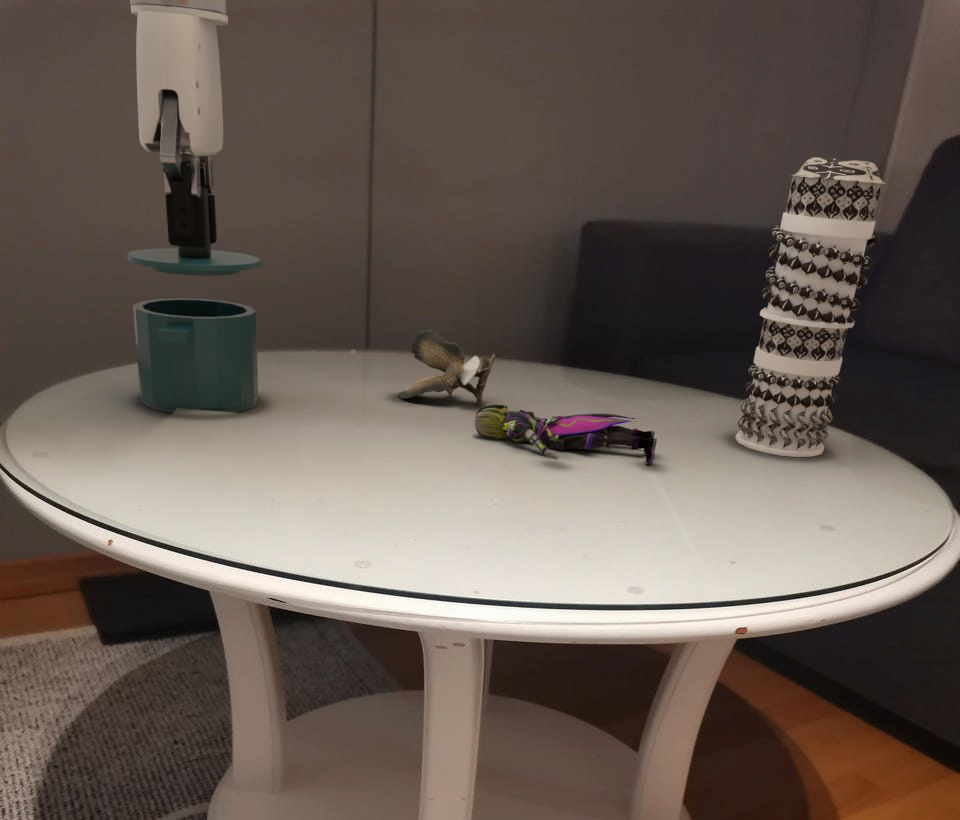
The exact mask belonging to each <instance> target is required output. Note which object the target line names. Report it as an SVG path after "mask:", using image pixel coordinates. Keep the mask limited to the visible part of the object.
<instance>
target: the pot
mask: <svg viewBox="0 0 960 820" xmlns="http://www.w3.org/2000/svg"><path fill="white" fill-rule="evenodd" d="M132 309H133V310H132V311H133V319H134V320H133V322H134V334H135V347H136V348H135V349H136V359H137V371H138V383H139V395H140V397H141V403H142V404H143V405H144V406H146V407H148V408H150V409H153V410H155V411H159V412H162V413H163V412H164V413H168V414H173V413H174V412H175V411H177V409H181V410H183V409H184V410H194V411H195V410H196V411H209V412H210V411H211V412H221V413H222V412H223V413H235V414H236V413H241V412H242V413H243V412H245V411H248V410H251V409H253V408H254V407H256V406H257V404H258V398H259V381H258V380H259V376H258V375H259V374H258V373H259V372H258V336H257V311H256V309H254V308H253V307H252V306H250V305H245V304H242V303H238V302H232V301H225V300H219V299H218V300H217V299H206V298H177V297H176V298H175V297H174V298H157V299H150V300H143V301H139V302H136V303H135V304H133V305H132Z"/></svg>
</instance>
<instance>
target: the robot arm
mask: <svg viewBox="0 0 960 820" xmlns="http://www.w3.org/2000/svg"><path fill="white" fill-rule="evenodd" d="M129 3H130V14H131V15H132V16H135V17H137V19H136V39H135V40H136V41H135V42H136V43H135V44H136V45H135V46H136V47H135V49H136V50H135V54H136V56H135V58H136V60H135V61H136V62H135V63H136V65H135V66H136V95H137V117H138V121H137V122H138V138H139V143H140V145H141V147H142V149H144V150H145V151H146V152H147V153H159V161H160V164H161V166H162V170H163V184H164V186H163V187H164V193H165V208H166V210H165V211H166V222H167V223H166V224H167V225H166V226H167V237H168V243H169V245H170V246H174V247H178V246H185V247H199V248H203V247H205V246H206V245H207V229H206V210H205V197H200V194H201V187H202V188H207V189H208V207H209V227H210V245H212V244H216V243H217V241H218V233H217V213H216V196H215V179H214V178H215V176H214V163H213V162H214V156H215V155H217V154H219V153H220V152H221V151H222V149H223V146H224V145H223V144H224V111H223V92H222V91H223V90H222V76H221V64H220V63H221V62H220V51H219V50H220V49H219V40H218V32H217V31H218V30H217V29H218V28H217V26H226V25H229V12H228V11H229V10H228V9H229V8H228V0H129ZM186 150H189V151H191V152H188V151H186Z"/></svg>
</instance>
